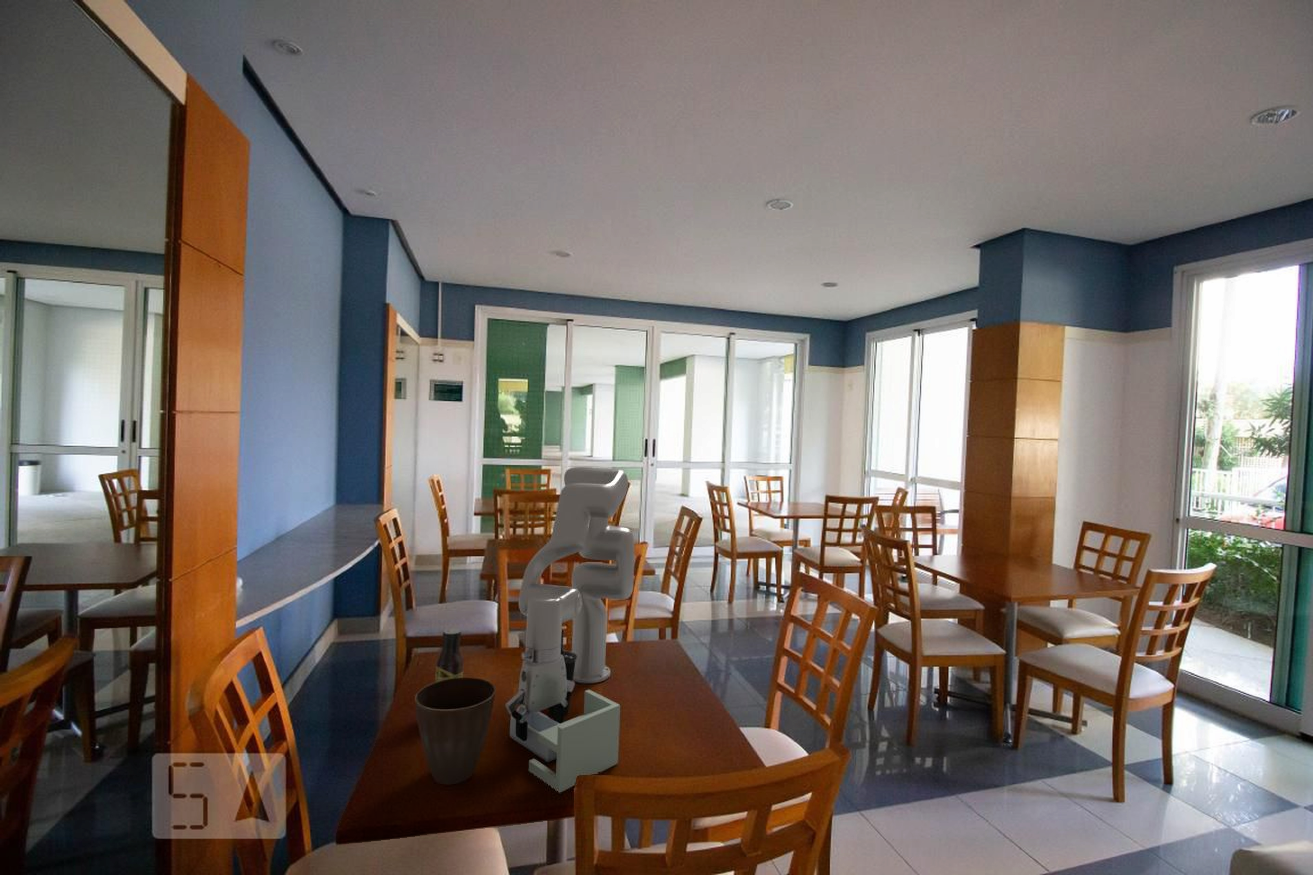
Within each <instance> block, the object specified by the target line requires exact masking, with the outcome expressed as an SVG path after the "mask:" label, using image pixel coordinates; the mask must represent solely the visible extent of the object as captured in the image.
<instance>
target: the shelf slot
mask: <svg viewBox="0 0 1313 875" xmlns="http://www.w3.org/2000/svg"><path fill="white" fill-rule="evenodd" d="M583 700H584V701H583V714H581V715H579V716H576V717H574V718H571V719H569V720H566V721H564V722H563V723H561V724H558V725H556V726H553V727H551V728H548V729H546V730H543V731H541V732H538V739H537V740H538V741H539V742H541V743H542V744H544V745H545V746H547V747H548V748H550V749H551V750H553V751H554V752H556V753H557V758H556V766H555V769H556V770H555V772H554V771H552V769H550V768H549V767H547V766H546V765H544V764H542V763H541V762H540V761H538V760H537V759H535V758H532V759H529V760H528V772H529V773H531V774H532V773H533V776H535V777H536V776H537V778H538V779H539V778H540V779H539V780H541V779H542V780H543V781H544V782H543V781H542V780H541V781H542V782H543V783H545V782H546V783H547V784H548V785H547V784H546V783H545V784H546V785H547V786H549V785H550V786H551V789H553V788H554V789H555V791H556V792H557V791H558V792H559V794H560V793H562V792H564V791H566V790H568V789H570V788H572V787H573V786H576V785H575V782H576V778H577V776H579V775H591V774H596V775H597V774H599V773H598V772H600V773H602V772H604V771H606V770H608V769H610V768H612V767H613V766H615V765H618V764H619V746H620V745H619V744H620V742H619V741H620V723H621V722H620V721H621V718H620V716H621V705H620V704H619V703H618V702H615V701H613V700H611V699H609V698H607V697H605V696H603V695H601V694H598V693H597V692H595V691H592V690H591V689H587V690H585V691H584V699H583ZM550 786H549V787H550ZM554 789H553V790H554ZM558 792H557V793H558Z"/></svg>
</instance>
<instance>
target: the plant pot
mask: <svg viewBox="0 0 1313 875" xmlns="http://www.w3.org/2000/svg"><path fill="white" fill-rule="evenodd" d="M496 691H497V690H496V687H495V685H494V684H493V683H492V682H490V681H489V680H486V679H483V678H477V677H469V676H468V677H466V676H465V677H462V678H452V679H446V680H441V681H438V682H435V681H434V682H432V683H430V684H427V685H425V686H423V687H422V688H421V689H420V690H419V691H417V692H416V694H415V696H414V701H415V712H416V718H417V725H418V731H419V735H420V739H421V740H420V741H421V744H422V749H423V751H424V756H425V758H426V761H427V764H428V767H429V769H430V770H429V771H430V772H431V776H432V777H433V779H434V781H435V782H436V783H438V784H442V785H446V786H447V785H448V786H449V785H455V784H460V783H462V782H465V781H467V780H468V779H470V778H471V776H473V774H474V771H475V769H476V767H477V763H478V761H479V759H480V756H481V753H482V750H483V747H484V744H485V740H486V737H487V733H488V731H489V725H490V722H491V717H492V712H493V707H494V703H495V696H496Z"/></svg>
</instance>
